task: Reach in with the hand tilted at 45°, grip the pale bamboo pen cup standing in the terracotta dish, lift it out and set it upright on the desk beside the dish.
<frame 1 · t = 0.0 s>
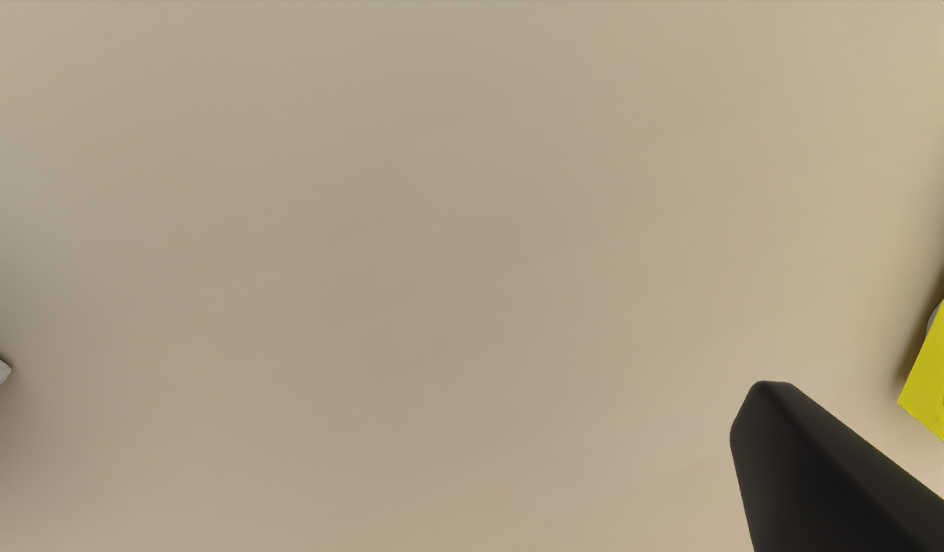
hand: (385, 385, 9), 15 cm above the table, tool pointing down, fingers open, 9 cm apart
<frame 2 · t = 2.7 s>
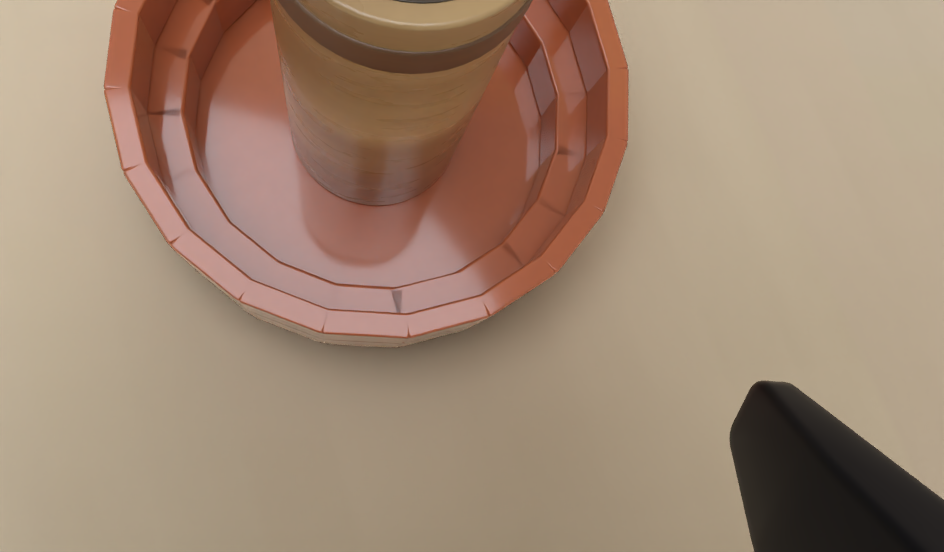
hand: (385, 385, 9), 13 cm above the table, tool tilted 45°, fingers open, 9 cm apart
dish: (374, 131, 23), on the table
pen cup: (375, 125, 23), resting on dish
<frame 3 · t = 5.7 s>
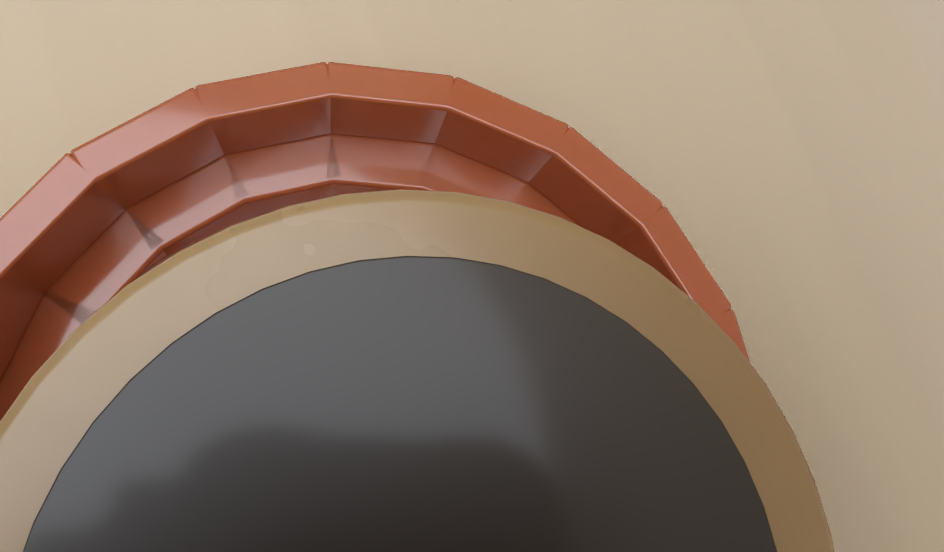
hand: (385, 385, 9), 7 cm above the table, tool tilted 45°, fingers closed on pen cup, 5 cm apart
dish: (357, 462, 15), on the table
pen cup: (358, 464, 15), point 1 cm above the table, touching dish, gripper
when the fingers open (6 cm above the table, at t = 13.2 s): pen cup stays where it is, on the table.
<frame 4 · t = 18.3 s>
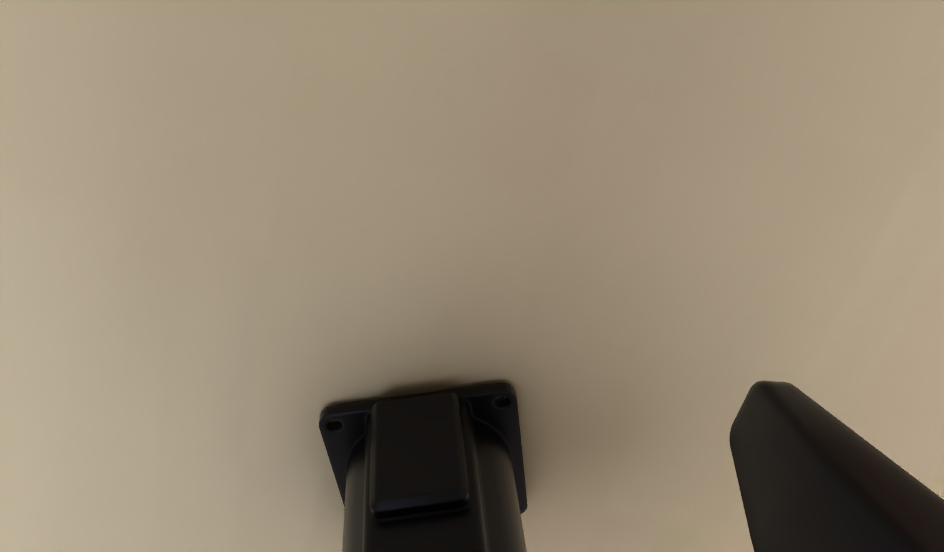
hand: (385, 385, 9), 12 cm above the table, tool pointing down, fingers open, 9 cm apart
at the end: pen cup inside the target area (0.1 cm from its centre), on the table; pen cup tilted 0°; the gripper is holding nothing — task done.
